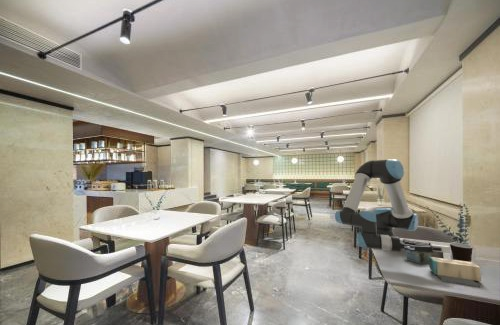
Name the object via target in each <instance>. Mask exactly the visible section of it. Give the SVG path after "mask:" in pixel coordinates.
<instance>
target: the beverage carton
mask: <svg viewBox="0 0 500 325" xmlns="http://www.w3.org/2000/svg"><path fill="white" fill-rule="evenodd" d="M405 257H406V260H408V261H410V262H414V263H416V264H419V265H423V264H430V257H435V258H443V259H445V258H444V252H437V251H433V253H431V252H418V251H413V252H411V251H410V250H405Z"/></svg>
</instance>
